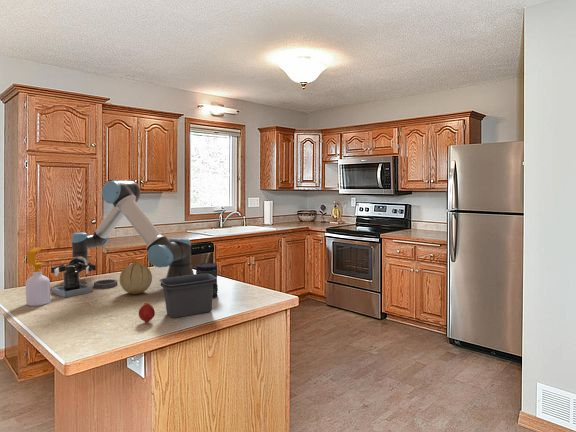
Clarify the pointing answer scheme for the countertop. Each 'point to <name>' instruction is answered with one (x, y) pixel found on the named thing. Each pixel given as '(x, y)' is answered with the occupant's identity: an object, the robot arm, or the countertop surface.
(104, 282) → the holster ring
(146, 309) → the pomegranate
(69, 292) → the tray
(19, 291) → the countertop surface
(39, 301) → the soap bottle
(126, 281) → the cantaloupe
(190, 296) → the storage bin
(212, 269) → the storage jar
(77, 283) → the supplement bottle
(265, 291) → the countertop surface
